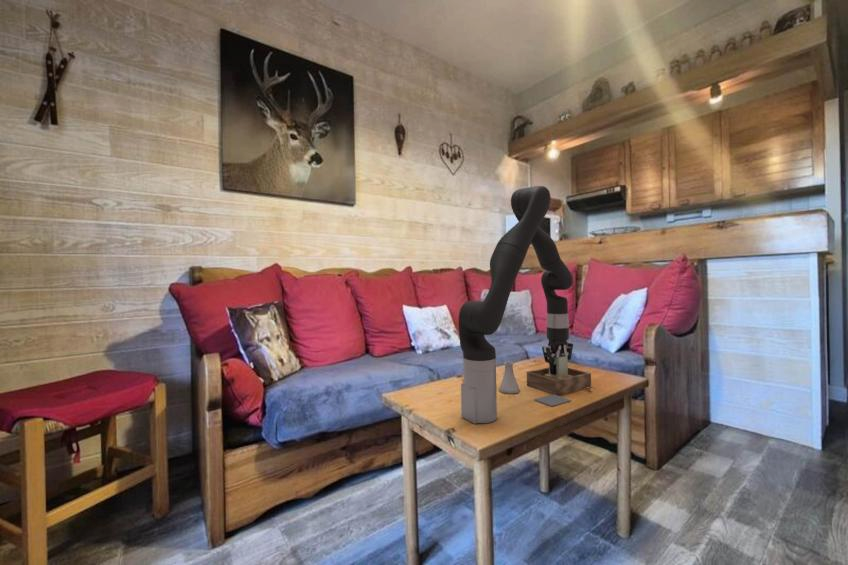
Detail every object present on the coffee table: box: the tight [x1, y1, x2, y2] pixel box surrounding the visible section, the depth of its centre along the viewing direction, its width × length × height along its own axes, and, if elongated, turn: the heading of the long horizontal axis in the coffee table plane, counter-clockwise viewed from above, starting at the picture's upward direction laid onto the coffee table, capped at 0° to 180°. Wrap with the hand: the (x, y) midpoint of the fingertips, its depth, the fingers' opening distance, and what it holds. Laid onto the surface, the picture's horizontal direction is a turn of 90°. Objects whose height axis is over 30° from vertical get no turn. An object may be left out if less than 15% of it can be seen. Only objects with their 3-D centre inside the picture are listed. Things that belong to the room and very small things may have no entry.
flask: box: [498, 361, 521, 394], centre depth 125 cm, size 7×7×10 cm
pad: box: [534, 394, 572, 408], centre depth 114 cm, size 9×7×1 cm
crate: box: [526, 366, 592, 397], centre depth 129 cm, size 17×14×5 cm
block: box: [548, 355, 569, 378], centre depth 129 cm, size 4×4×7 cm
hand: (558, 373), depth 129 cm, fingers closed on block, 4 cm apart
